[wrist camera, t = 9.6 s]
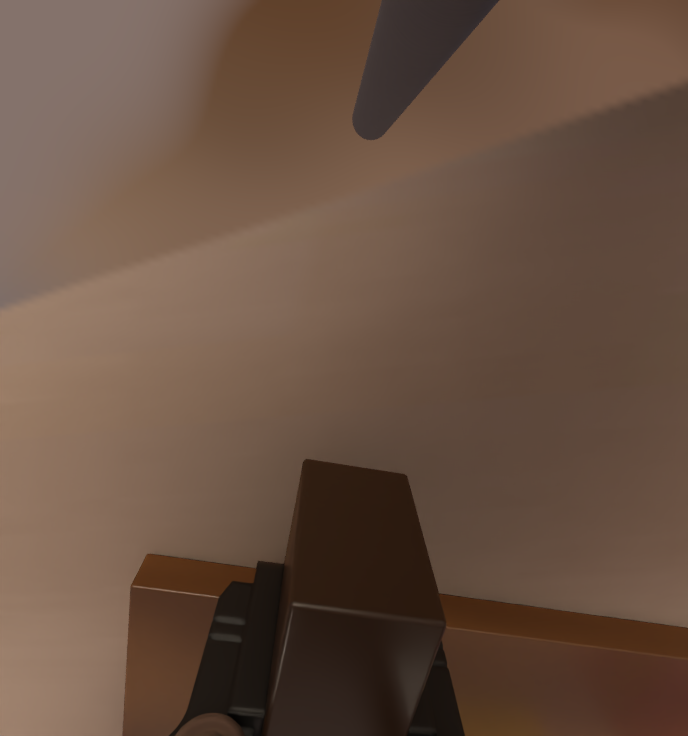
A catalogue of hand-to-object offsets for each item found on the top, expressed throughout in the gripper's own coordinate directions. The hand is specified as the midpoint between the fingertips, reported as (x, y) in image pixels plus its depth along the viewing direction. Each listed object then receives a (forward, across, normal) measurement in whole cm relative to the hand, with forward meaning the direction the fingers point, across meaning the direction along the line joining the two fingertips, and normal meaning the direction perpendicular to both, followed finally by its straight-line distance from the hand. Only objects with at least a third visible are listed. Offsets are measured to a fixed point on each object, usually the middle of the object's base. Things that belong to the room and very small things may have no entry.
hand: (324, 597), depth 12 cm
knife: (0, 0, +6) cm, 6 cm away
